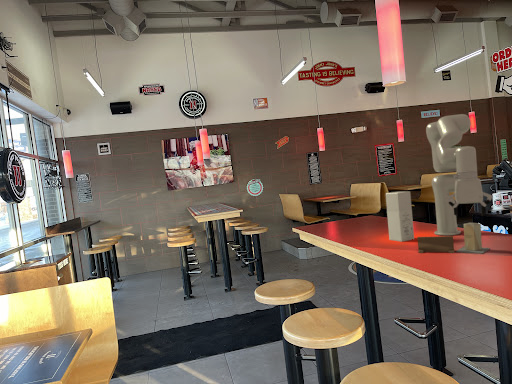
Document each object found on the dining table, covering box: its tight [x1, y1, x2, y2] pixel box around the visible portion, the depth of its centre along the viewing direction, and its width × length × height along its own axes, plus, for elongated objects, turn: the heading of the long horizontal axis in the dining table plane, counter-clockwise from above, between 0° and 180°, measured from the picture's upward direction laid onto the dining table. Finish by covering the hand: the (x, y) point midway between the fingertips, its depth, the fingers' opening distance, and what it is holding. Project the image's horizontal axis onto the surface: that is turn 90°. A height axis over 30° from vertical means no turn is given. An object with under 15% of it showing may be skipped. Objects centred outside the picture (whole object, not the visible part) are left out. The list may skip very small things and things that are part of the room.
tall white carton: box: [385, 191, 415, 243], centre depth 198 cm, size 9×9×25 cm
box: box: [463, 222, 483, 251], centre depth 160 cm, size 5×4×11 cm
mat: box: [456, 246, 491, 255], centre depth 160 cm, size 10×10×1 cm
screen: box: [417, 235, 455, 254], centre depth 164 cm, size 5×14×6 cm, turn 65°
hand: (469, 216), depth 160 cm, fingers open, 9 cm apart
